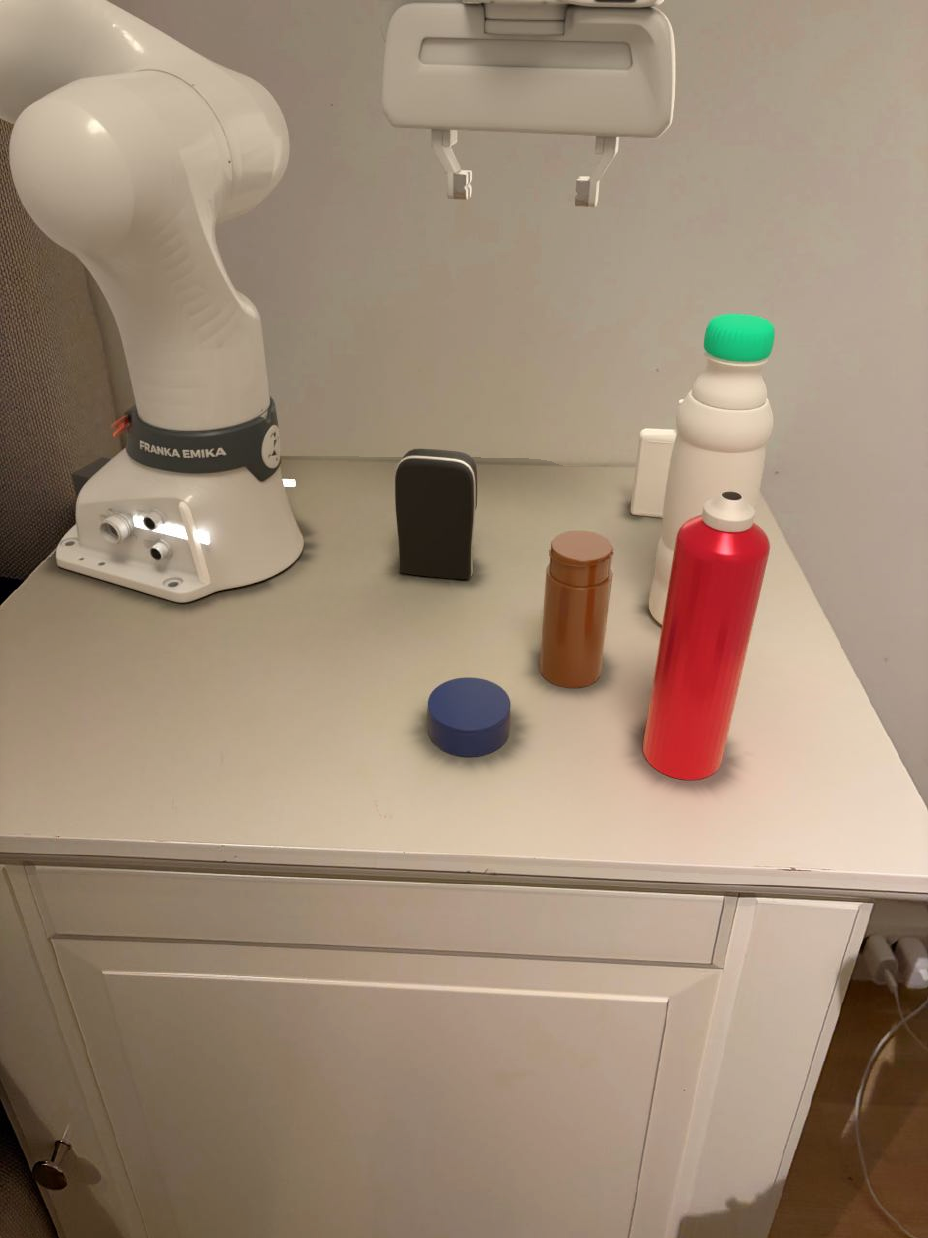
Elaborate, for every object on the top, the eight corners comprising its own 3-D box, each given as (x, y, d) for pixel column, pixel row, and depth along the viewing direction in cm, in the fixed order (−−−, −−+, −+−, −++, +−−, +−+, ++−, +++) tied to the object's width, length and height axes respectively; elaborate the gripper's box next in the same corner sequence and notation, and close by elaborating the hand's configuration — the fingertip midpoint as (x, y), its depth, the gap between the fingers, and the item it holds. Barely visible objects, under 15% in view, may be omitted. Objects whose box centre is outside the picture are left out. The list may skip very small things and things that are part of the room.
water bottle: (733, 644, 76) (799, 339, 62) (645, 633, 77) (691, 331, 63) (730, 598, 81) (790, 309, 67) (649, 588, 83) (691, 302, 68)
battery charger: (478, 561, 86) (481, 446, 80) (472, 582, 83) (474, 465, 77) (405, 554, 87) (401, 440, 81) (396, 575, 84) (391, 458, 78)
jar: (534, 682, 71) (543, 557, 65) (545, 647, 75) (554, 525, 69) (596, 692, 70) (611, 566, 64) (604, 656, 74) (619, 533, 68)
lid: (457, 693, 70) (457, 667, 69) (524, 721, 68) (526, 694, 66) (412, 737, 66) (411, 710, 65) (481, 768, 63) (482, 741, 62)
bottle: (737, 769, 64) (800, 509, 52) (668, 788, 62) (717, 524, 51) (694, 720, 68) (744, 469, 57) (628, 737, 66) (666, 482, 55)
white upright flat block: (629, 515, 94) (643, 401, 87) (630, 506, 95) (644, 394, 89) (710, 523, 93) (731, 408, 86) (710, 514, 94) (730, 400, 87)
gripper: (362, -31, 60) (372, 201, 67) (687, -29, 56) (657, 218, 63) (392, -30, 65) (398, 186, 72) (691, -28, 61) (664, 201, 68)
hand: (521, 201), depth 68 cm, fingers open, 8 cm apart
